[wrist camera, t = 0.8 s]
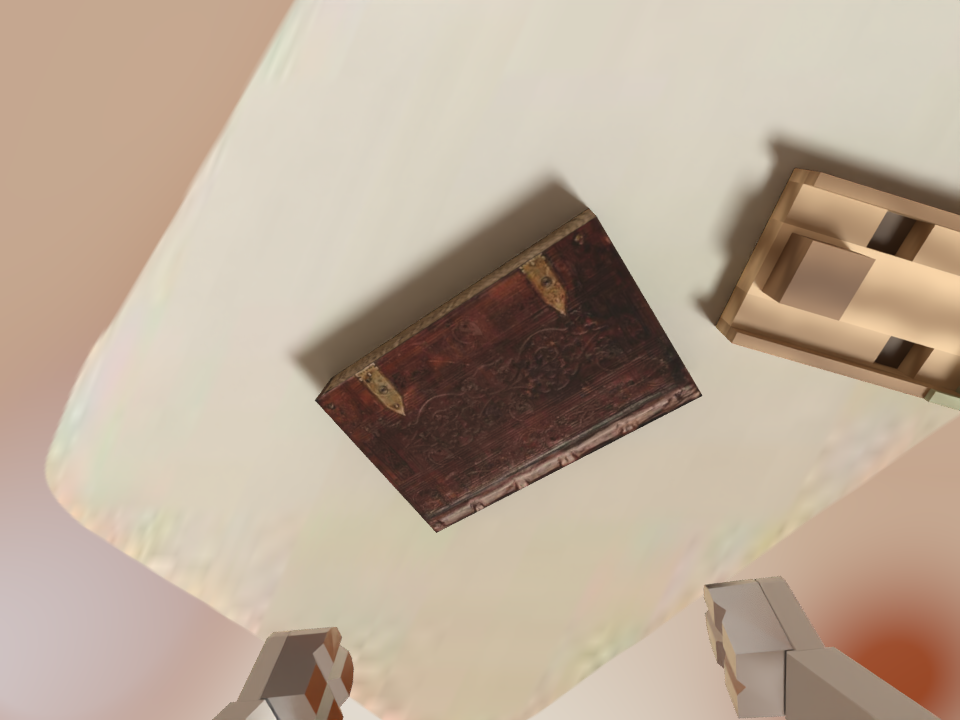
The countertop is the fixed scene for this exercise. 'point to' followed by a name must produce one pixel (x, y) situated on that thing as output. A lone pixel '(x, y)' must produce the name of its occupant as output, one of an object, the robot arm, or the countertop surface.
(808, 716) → the robot arm
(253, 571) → the countertop surface
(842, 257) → the block
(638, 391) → the hardback book
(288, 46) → the countertop surface
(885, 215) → the box
